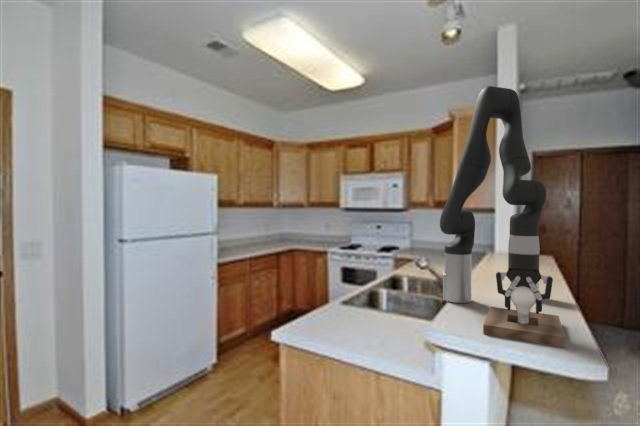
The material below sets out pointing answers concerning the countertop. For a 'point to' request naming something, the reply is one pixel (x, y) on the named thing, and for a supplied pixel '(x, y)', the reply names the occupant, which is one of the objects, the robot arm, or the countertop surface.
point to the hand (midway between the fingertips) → (523, 311)
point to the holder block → (524, 327)
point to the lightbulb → (523, 302)
